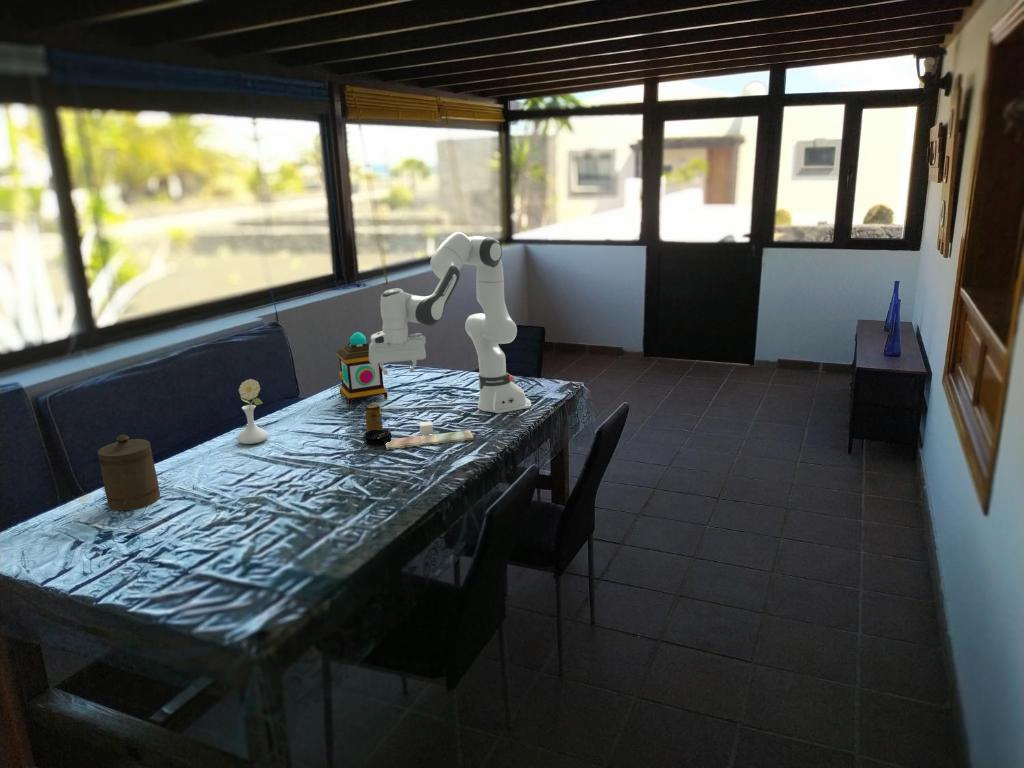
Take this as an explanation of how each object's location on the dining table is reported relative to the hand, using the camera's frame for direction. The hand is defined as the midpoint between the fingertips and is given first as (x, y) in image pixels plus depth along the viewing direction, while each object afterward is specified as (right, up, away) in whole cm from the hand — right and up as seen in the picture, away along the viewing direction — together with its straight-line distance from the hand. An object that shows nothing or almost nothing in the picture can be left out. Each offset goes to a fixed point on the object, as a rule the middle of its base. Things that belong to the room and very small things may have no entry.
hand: (398, 373), depth 266 cm
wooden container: (-79, -41, -31) cm, 94 cm away
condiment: (-11, -24, +17) cm, 32 cm away
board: (+10, -25, +9) cm, 29 cm away
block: (+8, -23, +18) cm, 30 cm away
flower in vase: (-57, -26, +16) cm, 65 cm away
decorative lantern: (-26, -10, +65) cm, 71 cm away
